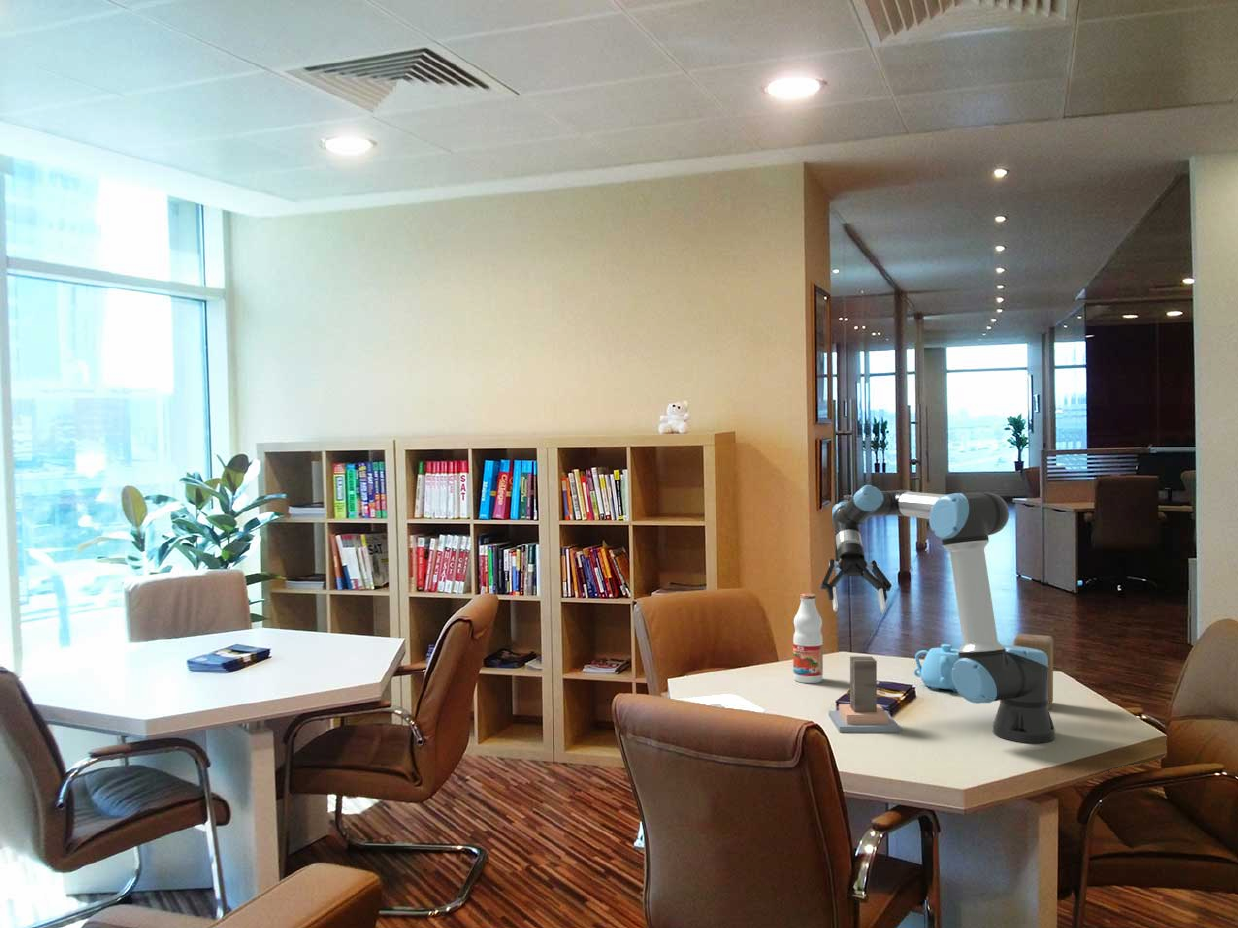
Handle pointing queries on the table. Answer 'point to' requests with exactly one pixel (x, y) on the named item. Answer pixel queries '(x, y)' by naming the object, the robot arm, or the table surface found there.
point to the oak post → (863, 684)
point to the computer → (726, 702)
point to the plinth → (863, 726)
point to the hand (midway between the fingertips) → (859, 609)
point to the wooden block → (1044, 645)
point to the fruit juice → (807, 642)
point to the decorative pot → (937, 667)
